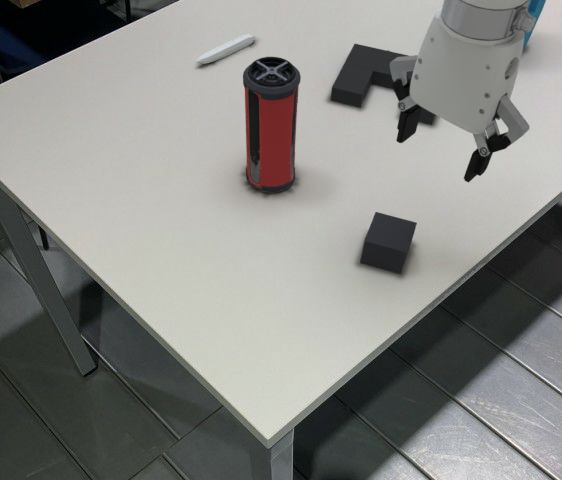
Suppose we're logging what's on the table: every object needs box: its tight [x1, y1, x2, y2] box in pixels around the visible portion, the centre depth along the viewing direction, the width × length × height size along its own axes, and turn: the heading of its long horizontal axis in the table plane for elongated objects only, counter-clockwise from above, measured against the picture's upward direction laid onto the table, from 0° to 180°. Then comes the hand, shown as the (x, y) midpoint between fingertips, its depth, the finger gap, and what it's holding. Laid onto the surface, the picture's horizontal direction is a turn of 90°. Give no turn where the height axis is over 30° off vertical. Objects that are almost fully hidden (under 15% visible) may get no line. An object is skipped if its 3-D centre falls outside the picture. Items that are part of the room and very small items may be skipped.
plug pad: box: [359, 211, 417, 275], centre depth 87 cm, size 6×6×4 cm
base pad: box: [330, 43, 436, 126], centre depth 109 cm, size 18×14×2 cm
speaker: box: [242, 56, 302, 193], centre depth 89 cm, size 8×8×18 cm
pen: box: [195, 33, 256, 65], centre depth 113 cm, size 2×14×2 cm, turn 132°
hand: (438, 156), depth 74 cm, fingers open, 9 cm apart
